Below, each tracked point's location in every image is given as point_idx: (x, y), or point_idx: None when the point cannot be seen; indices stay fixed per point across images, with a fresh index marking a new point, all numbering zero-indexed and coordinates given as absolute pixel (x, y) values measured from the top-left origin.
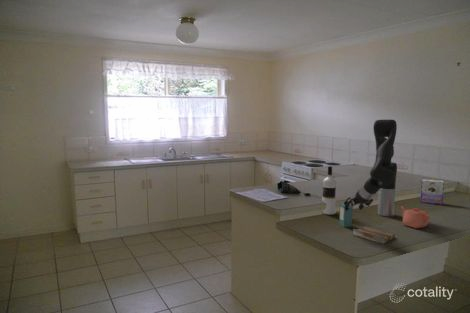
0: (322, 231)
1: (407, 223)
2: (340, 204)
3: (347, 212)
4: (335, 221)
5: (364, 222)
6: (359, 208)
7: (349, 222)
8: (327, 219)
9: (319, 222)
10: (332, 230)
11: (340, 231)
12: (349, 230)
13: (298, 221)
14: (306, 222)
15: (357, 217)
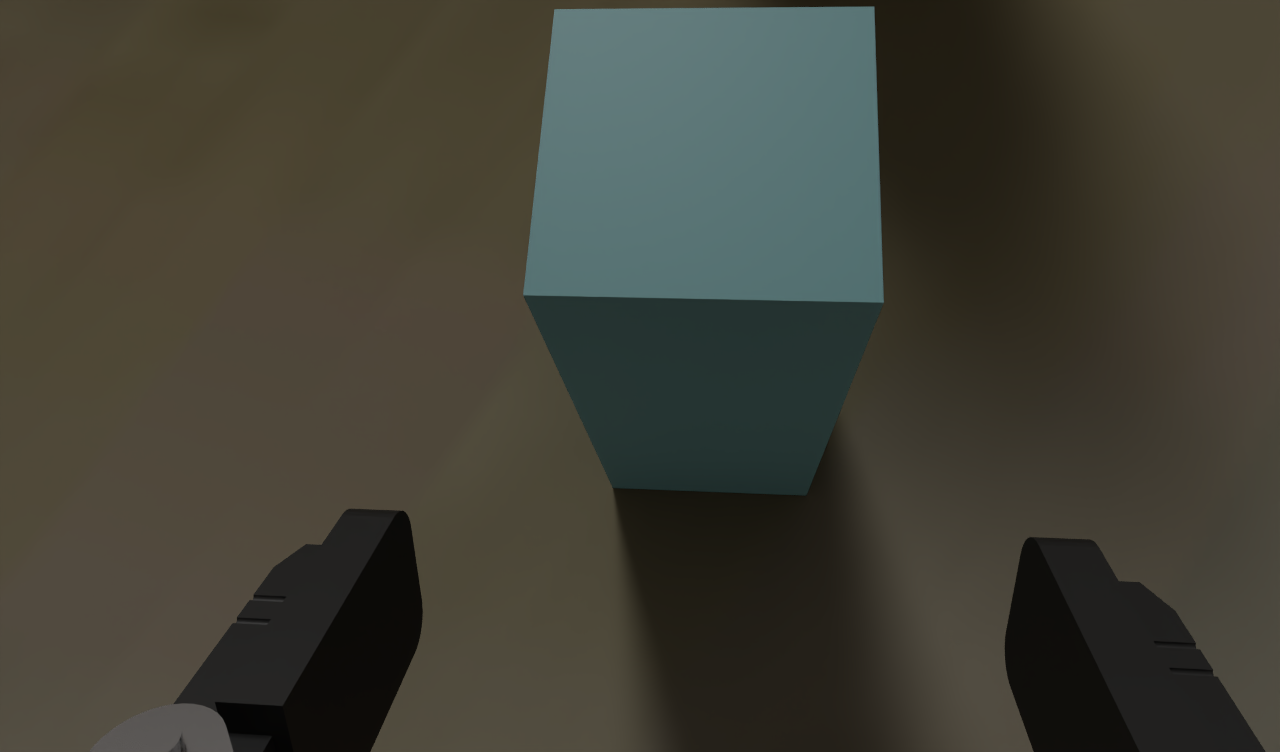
0: (28, 627)
1: None
2: (556, 43)
3: (668, 386)
4: None
5: (1237, 326)
6: (1015, 612)
7: (748, 469)
8: None
9: (325, 149)
10: None
11: None
12: (599, 725)
13: (22, 39)
14: (110, 107)
15: (1240, 27)
